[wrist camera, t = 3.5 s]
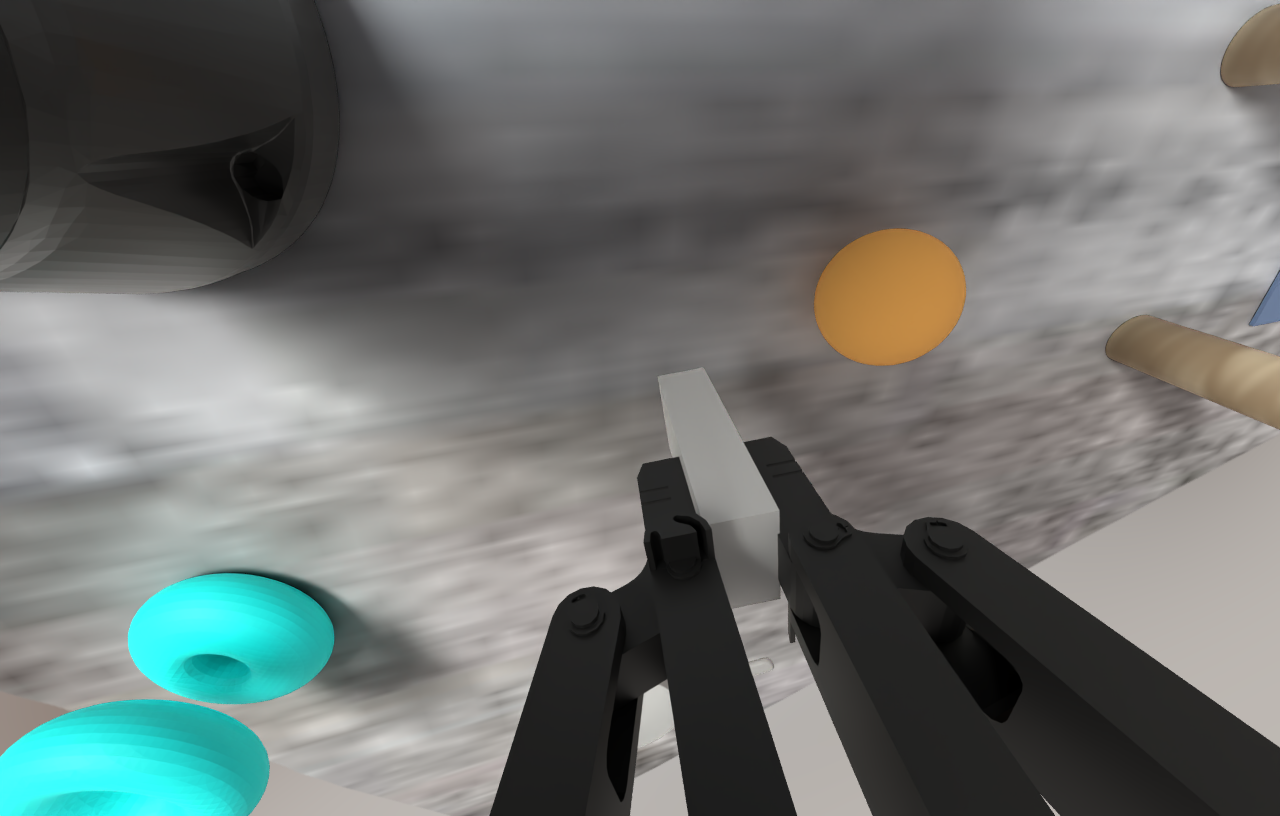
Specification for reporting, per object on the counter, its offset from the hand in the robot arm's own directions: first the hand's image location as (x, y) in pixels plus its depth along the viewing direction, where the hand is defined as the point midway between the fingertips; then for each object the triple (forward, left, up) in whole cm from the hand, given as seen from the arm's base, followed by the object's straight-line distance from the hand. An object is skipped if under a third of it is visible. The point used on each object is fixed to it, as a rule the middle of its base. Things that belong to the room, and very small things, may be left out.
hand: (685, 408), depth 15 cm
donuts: (+14, -28, -8) cm, 32 cm away
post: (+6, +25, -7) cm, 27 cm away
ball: (0, +9, -5) cm, 11 cm away
